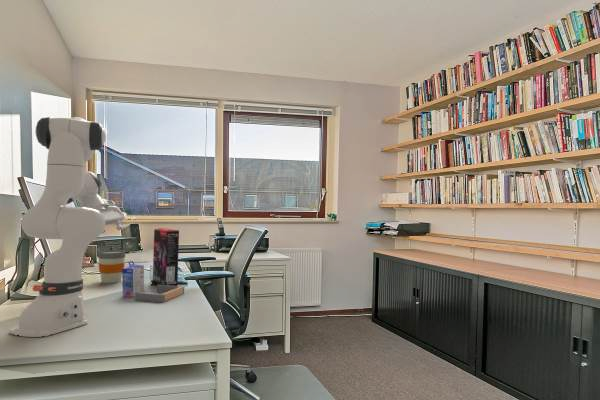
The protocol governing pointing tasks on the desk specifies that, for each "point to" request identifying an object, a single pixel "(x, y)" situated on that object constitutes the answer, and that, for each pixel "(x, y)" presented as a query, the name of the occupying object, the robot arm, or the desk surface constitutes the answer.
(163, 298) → the u-shaped bracket
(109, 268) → the reusable coffee cup
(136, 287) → the ink cartridge box
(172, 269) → the graphics card box
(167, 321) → the desk surface
